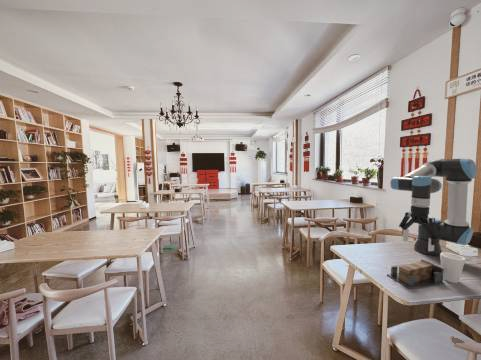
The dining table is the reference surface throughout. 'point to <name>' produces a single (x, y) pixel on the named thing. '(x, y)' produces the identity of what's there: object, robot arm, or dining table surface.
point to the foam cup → (452, 266)
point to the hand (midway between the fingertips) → (417, 245)
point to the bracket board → (434, 280)
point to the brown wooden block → (415, 271)
